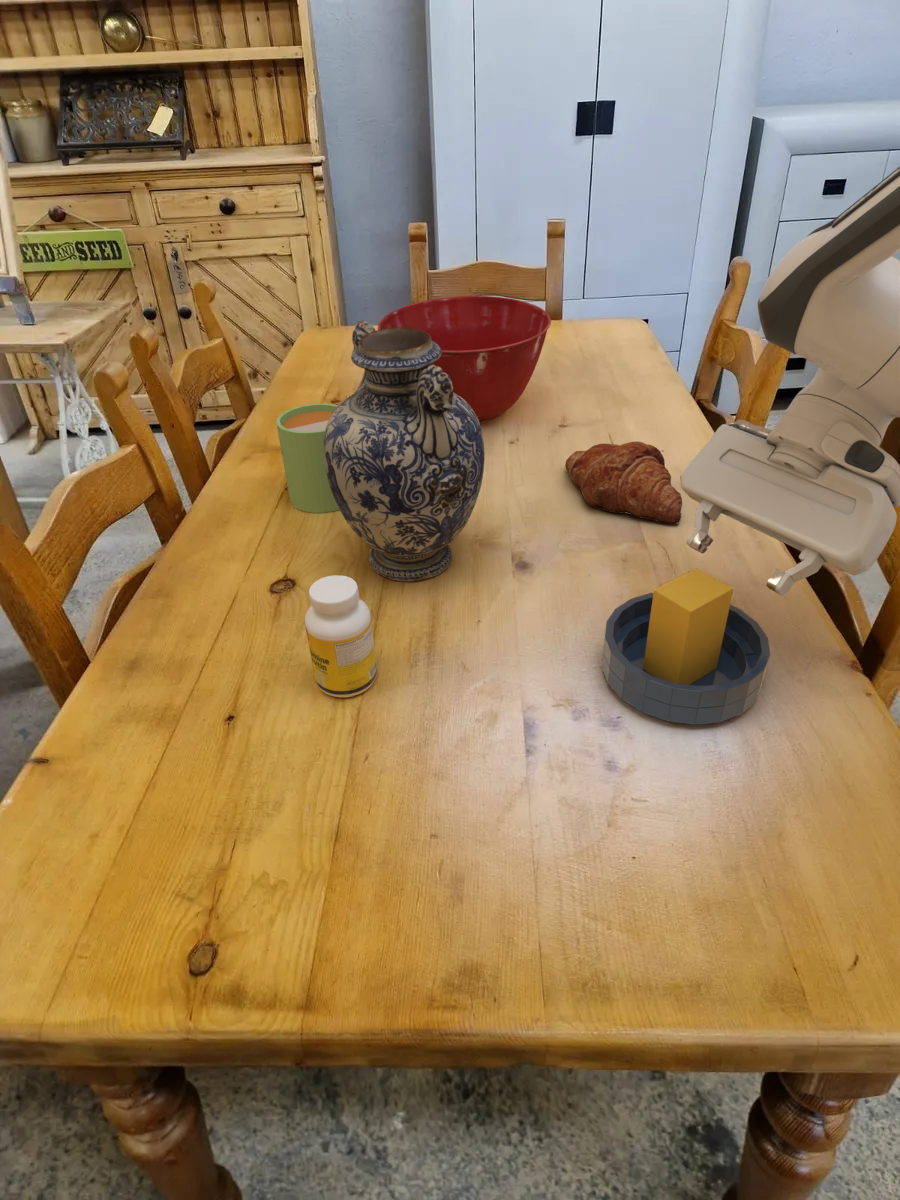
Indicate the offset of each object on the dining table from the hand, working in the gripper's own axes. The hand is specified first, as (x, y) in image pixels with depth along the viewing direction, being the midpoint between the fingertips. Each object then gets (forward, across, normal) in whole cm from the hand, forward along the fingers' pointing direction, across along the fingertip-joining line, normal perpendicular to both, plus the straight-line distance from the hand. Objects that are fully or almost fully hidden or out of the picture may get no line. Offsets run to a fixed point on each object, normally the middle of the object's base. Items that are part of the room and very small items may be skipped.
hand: (732, 569), depth 76 cm
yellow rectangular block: (+11, 0, +4) cm, 11 cm away
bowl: (+11, 0, +4) cm, 12 cm away
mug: (+18, -59, -3) cm, 62 cm away
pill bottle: (+31, -21, -15) cm, 40 cm away
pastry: (-4, -31, +20) cm, 38 cm away
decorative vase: (+18, -36, -2) cm, 40 cm away
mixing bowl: (-6, -71, +21) cm, 74 cm away
